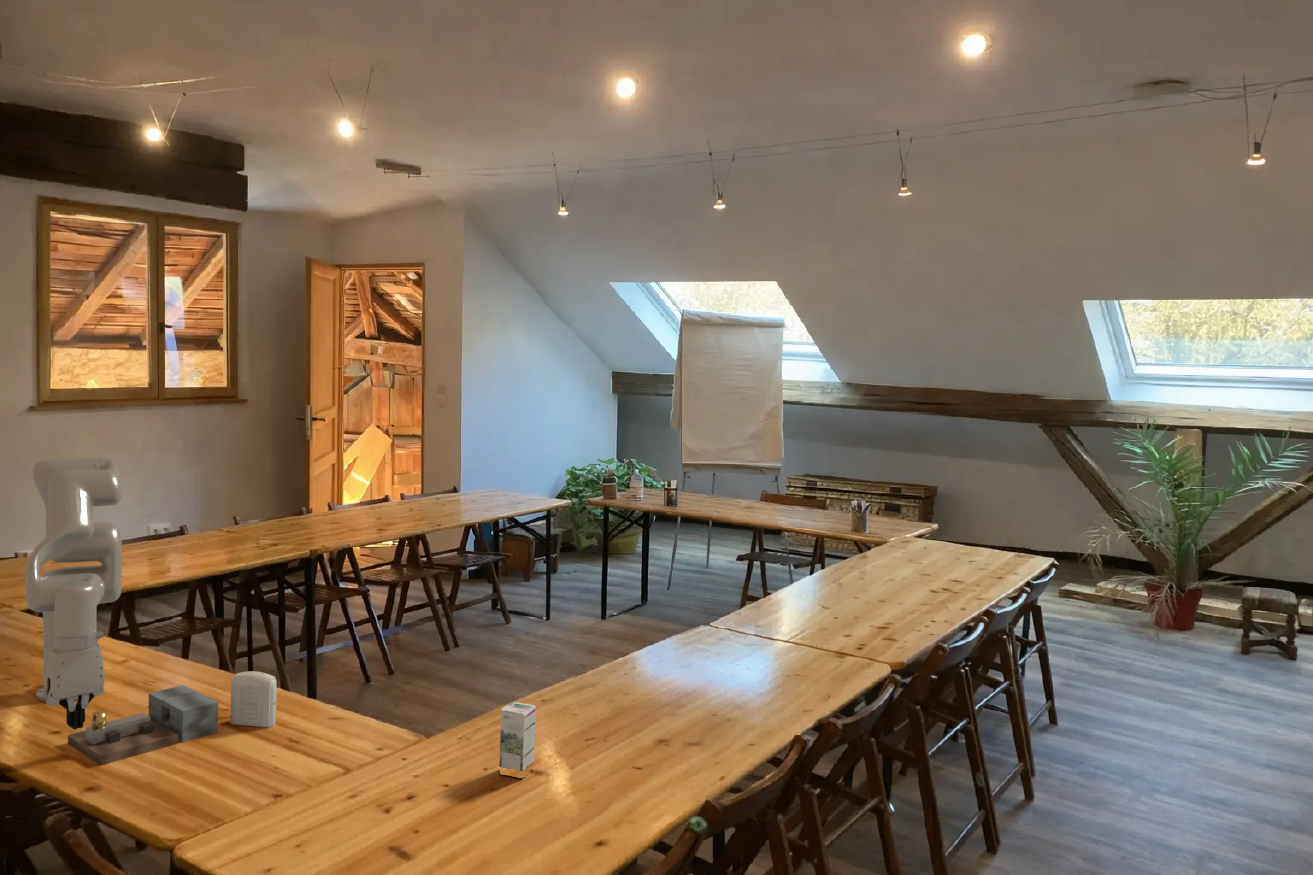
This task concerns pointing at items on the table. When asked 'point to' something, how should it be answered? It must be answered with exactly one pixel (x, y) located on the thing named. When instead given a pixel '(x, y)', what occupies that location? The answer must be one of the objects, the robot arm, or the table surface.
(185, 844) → the table surface
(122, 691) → the table surface
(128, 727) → the bolt
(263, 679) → the photo printer
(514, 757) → the syrup box
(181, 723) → the frame
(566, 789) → the table surface
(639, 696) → the table surface
